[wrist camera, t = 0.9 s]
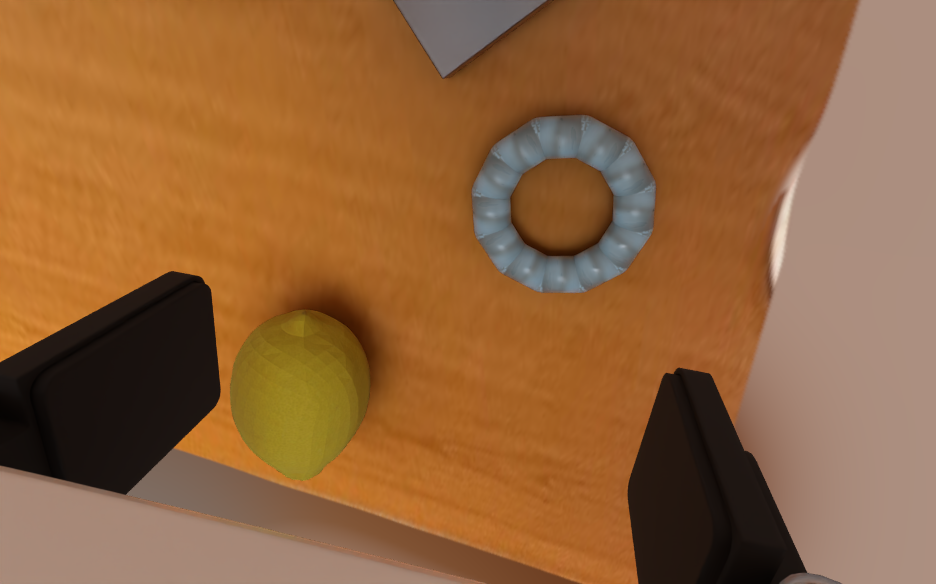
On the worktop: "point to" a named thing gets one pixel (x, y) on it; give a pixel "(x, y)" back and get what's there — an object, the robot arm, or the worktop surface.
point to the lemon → (299, 391)
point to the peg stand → (463, 27)
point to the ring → (591, 147)
